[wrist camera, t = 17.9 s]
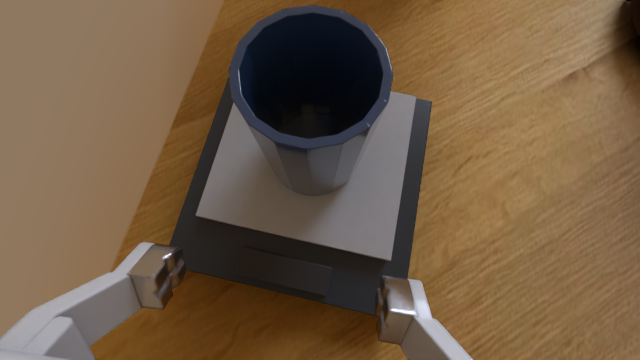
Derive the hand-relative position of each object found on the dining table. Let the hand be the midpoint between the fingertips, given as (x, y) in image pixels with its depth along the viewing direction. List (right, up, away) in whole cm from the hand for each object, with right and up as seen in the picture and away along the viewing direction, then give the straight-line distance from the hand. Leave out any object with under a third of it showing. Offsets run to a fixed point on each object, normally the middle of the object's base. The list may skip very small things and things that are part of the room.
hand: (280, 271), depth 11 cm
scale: (+1, +3, +11) cm, 11 cm away
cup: (+1, +6, +8) cm, 10 cm away
